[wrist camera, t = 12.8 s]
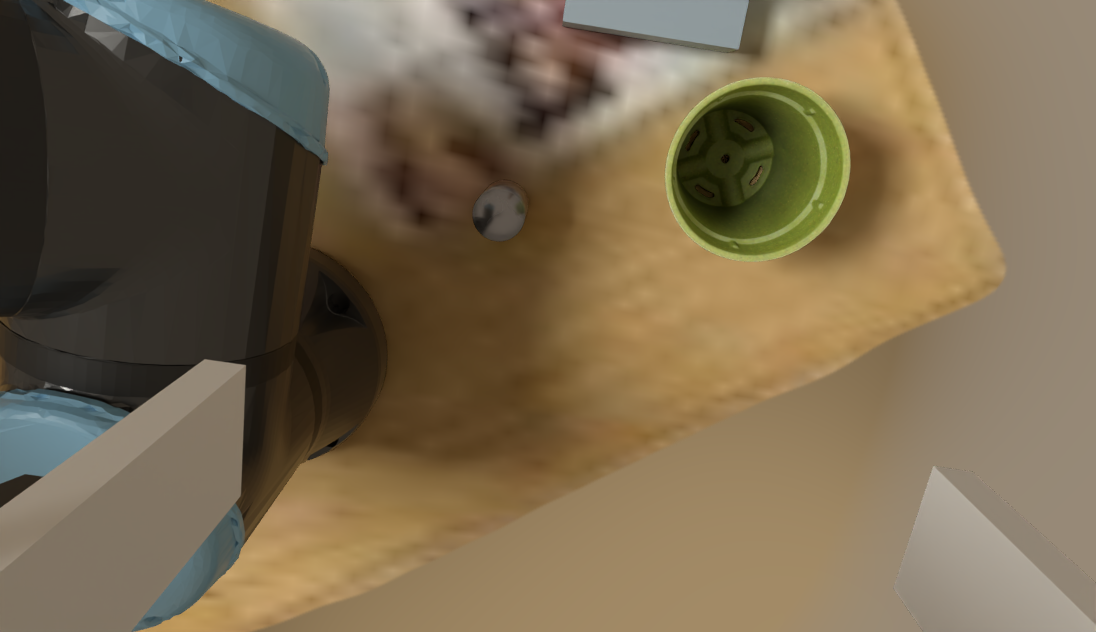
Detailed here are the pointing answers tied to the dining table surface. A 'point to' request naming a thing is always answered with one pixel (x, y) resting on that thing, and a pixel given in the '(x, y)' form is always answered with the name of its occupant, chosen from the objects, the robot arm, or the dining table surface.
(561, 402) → the dining table surface
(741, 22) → the square grey frame
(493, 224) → the short pin
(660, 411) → the dining table surface
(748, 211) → the plant pot
